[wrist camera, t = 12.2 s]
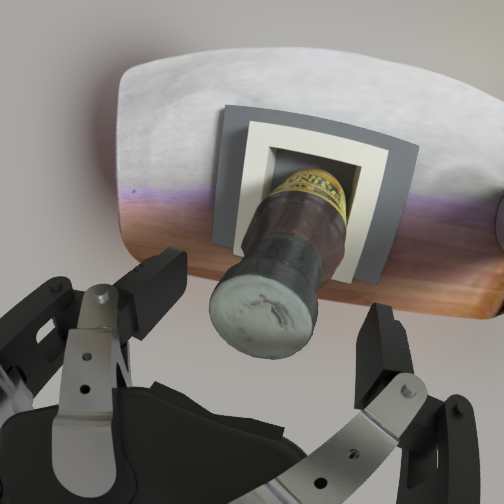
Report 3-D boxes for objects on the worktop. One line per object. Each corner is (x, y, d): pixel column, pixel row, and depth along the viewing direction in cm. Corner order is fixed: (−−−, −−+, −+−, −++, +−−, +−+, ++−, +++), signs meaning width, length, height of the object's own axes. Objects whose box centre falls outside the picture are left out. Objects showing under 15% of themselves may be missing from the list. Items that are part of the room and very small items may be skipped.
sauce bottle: (345, 167, 24) (381, 251, 7) (342, 227, 27) (346, 387, 10) (279, 165, 26) (174, 236, 9) (280, 223, 29) (200, 365, 11)
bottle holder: (414, 145, 22) (433, 148, 18) (375, 278, 30) (381, 304, 25) (230, 105, 26) (209, 101, 21) (216, 238, 33) (196, 257, 29)
